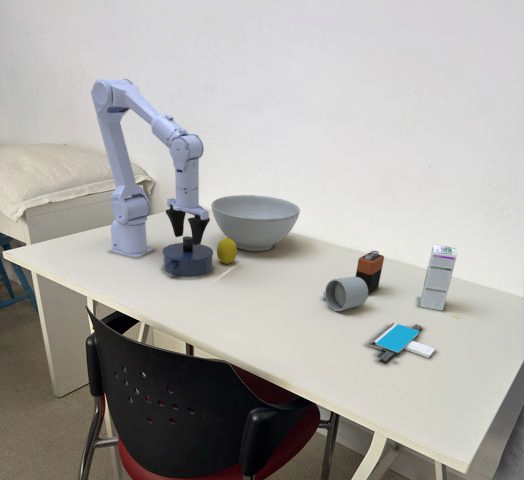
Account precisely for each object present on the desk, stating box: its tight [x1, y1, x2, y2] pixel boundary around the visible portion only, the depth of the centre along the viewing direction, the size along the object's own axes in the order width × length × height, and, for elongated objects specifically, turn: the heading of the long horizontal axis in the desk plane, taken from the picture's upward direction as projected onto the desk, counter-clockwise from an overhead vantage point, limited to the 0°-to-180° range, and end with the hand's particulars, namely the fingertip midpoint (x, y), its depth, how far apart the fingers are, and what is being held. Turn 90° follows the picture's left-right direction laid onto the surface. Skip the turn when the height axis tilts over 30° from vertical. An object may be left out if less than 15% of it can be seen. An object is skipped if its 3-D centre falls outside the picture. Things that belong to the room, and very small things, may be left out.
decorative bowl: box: [211, 194, 301, 252], centre depth 154 cm, size 27×27×12 cm
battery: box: [355, 250, 385, 295], centre depth 129 cm, size 4×7×10 cm, turn 143°
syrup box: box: [419, 244, 458, 311], centre depth 122 cm, size 6×6×14 cm
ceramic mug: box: [322, 276, 369, 312], centre depth 121 cm, size 11×8×8 cm
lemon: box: [216, 236, 238, 265], centre depth 138 cm, size 6×6×8 cm
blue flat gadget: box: [367, 322, 436, 364], centre depth 106 cm, size 20×12×2 cm, turn 143°
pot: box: [162, 254, 213, 278], centre depth 134 cm, size 13×18×5 cm
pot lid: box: [162, 235, 214, 262], centre depth 132 cm, size 13×13×5 cm
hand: (187, 240), depth 131 cm, fingers open, 7 cm apart
